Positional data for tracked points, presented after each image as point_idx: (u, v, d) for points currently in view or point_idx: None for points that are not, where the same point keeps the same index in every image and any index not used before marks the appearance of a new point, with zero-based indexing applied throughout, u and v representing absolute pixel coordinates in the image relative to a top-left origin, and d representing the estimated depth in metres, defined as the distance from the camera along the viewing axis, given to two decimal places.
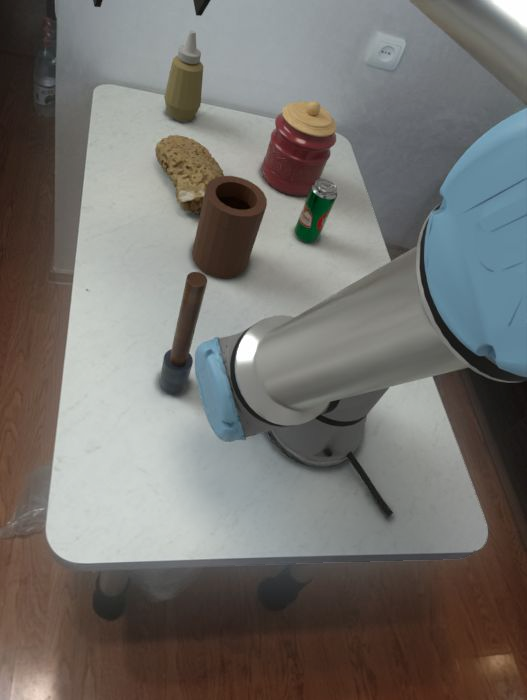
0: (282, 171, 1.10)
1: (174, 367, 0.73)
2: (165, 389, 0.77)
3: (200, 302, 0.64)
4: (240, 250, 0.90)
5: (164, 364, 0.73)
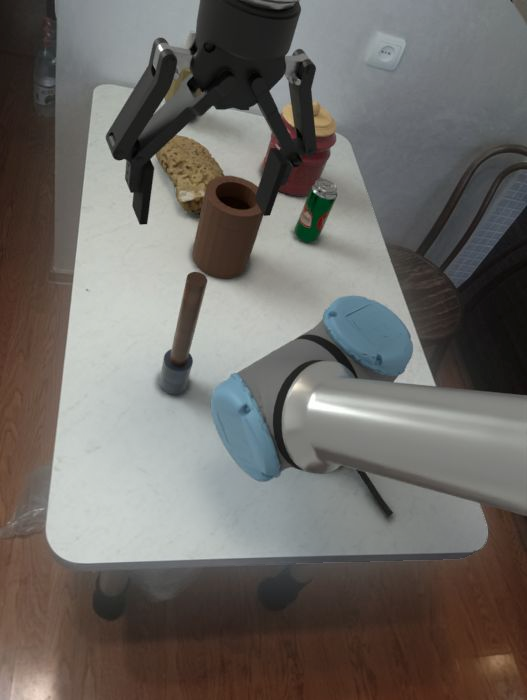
0: None
1: (174, 367, 0.73)
2: (165, 389, 0.77)
3: (200, 302, 0.64)
4: (240, 250, 0.90)
5: (164, 364, 0.73)
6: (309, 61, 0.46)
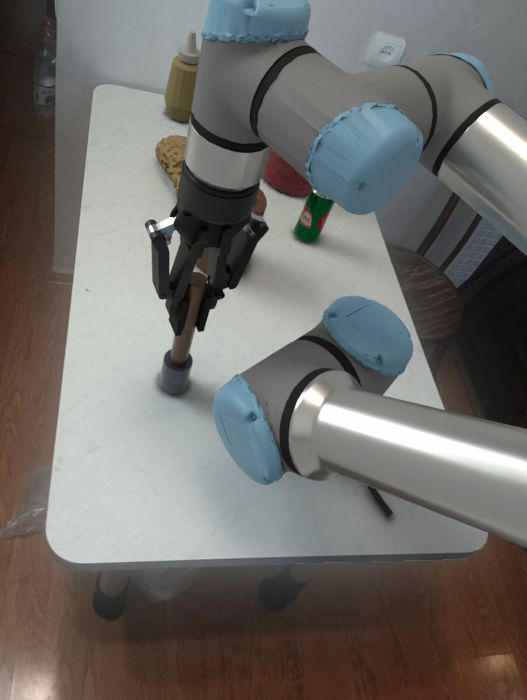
0: (282, 171, 1.10)
1: (174, 367, 0.73)
2: (165, 389, 0.77)
3: (200, 302, 0.64)
4: None
5: (164, 364, 0.73)
6: (265, 223, 0.58)
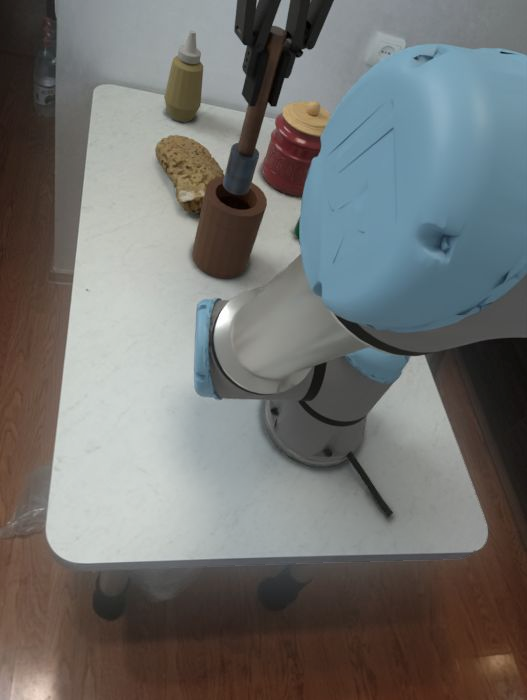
0: (282, 171, 1.10)
1: (242, 156, 0.74)
2: (230, 187, 0.77)
3: (277, 61, 0.64)
4: (240, 250, 0.90)
5: (232, 154, 0.74)
6: None
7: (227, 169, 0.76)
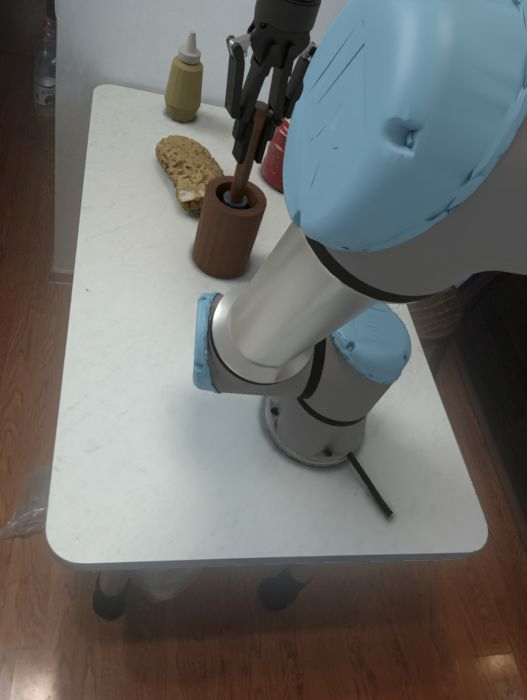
0: (282, 171, 1.10)
1: (232, 203, 0.86)
2: None
3: (261, 129, 0.77)
4: (240, 250, 0.90)
5: (224, 201, 0.86)
6: None
7: None
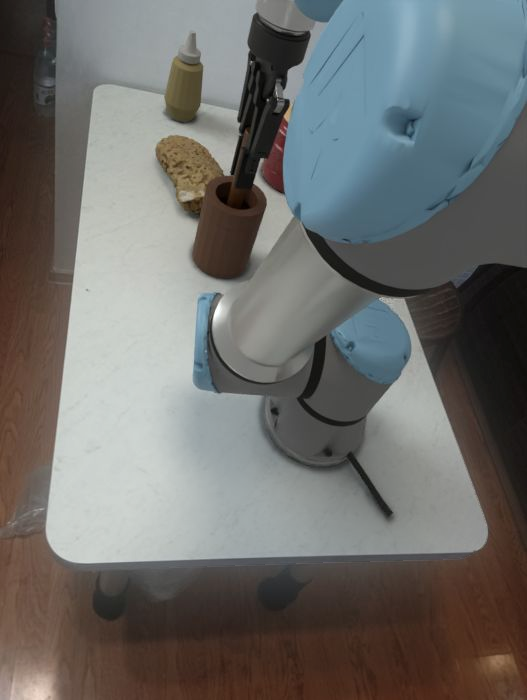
0: (282, 171, 1.10)
1: None
2: None
3: None
4: (240, 250, 0.90)
5: None
6: None
7: None
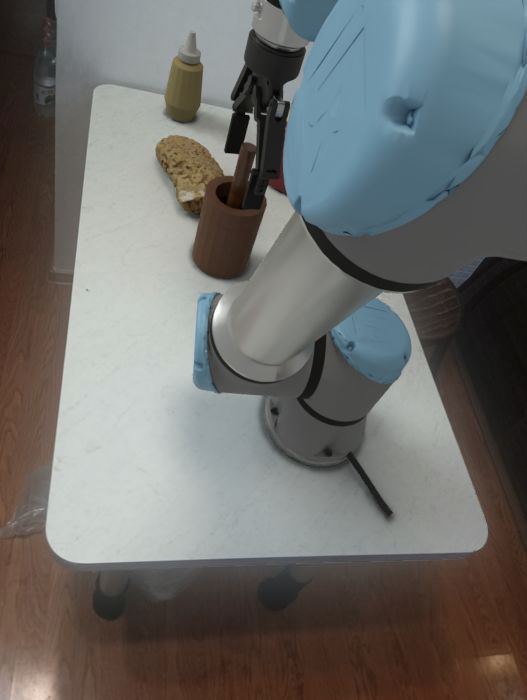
0: (282, 171, 1.10)
1: None
2: None
3: None
4: (240, 250, 0.90)
5: None
6: None
7: None
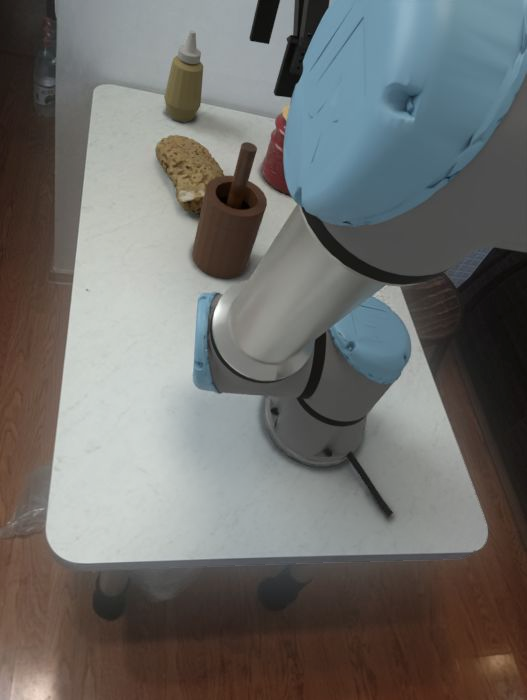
0: (282, 171, 1.10)
1: None
2: None
3: None
4: (240, 250, 0.90)
5: None
6: None
7: None
